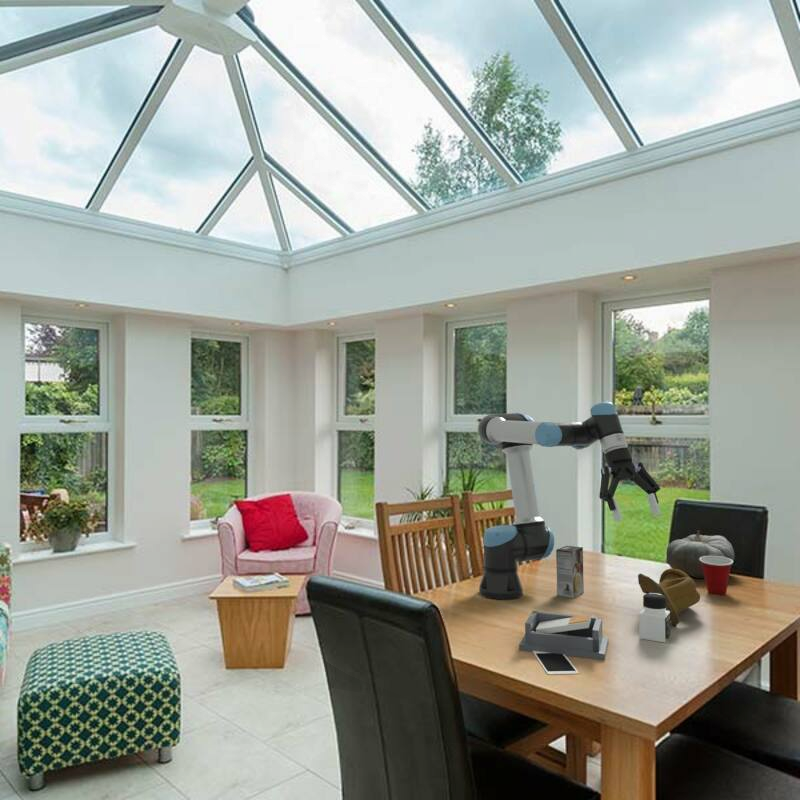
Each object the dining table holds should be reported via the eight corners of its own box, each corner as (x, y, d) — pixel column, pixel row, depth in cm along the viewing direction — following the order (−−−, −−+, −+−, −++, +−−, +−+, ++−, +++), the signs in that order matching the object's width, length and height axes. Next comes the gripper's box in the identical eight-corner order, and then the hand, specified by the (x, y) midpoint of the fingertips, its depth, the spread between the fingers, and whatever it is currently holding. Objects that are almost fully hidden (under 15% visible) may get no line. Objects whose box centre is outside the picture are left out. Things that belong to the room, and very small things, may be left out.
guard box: (519, 649, 179) (518, 623, 179) (528, 633, 192) (528, 609, 192) (604, 660, 171) (604, 632, 171) (608, 642, 184) (608, 617, 184)
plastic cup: (700, 595, 231) (699, 560, 231) (699, 588, 241) (698, 554, 241) (735, 598, 227) (734, 563, 227) (732, 590, 237) (732, 556, 237)
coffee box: (567, 589, 240) (566, 545, 241) (584, 592, 236) (583, 547, 237) (556, 595, 233) (555, 549, 233) (573, 598, 229) (573, 551, 229)
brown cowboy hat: (601, 583, 212) (653, 558, 227) (620, 634, 209) (672, 605, 224) (659, 575, 193) (712, 548, 209) (681, 631, 190) (733, 599, 206)
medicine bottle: (666, 643, 183) (665, 599, 184) (639, 638, 187) (638, 595, 187) (670, 635, 189) (670, 593, 190) (644, 631, 193) (644, 590, 193)
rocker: (536, 635, 181) (535, 628, 181) (541, 627, 187) (539, 621, 188) (588, 627, 176) (586, 621, 176) (591, 620, 183) (589, 613, 183)
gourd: (748, 567, 261) (739, 524, 261) (724, 589, 244) (714, 543, 244) (685, 564, 280) (677, 523, 279) (659, 584, 263) (650, 541, 262)
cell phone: (561, 652, 178) (561, 650, 178) (579, 675, 162) (579, 673, 162) (532, 653, 178) (532, 650, 178) (547, 676, 162) (547, 673, 162)
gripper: (588, 449, 197) (609, 519, 189) (656, 443, 206) (680, 509, 198) (575, 458, 204) (595, 526, 196) (642, 451, 212) (664, 516, 204)
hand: (638, 518), depth 197 cm, fingers open, 13 cm apart
